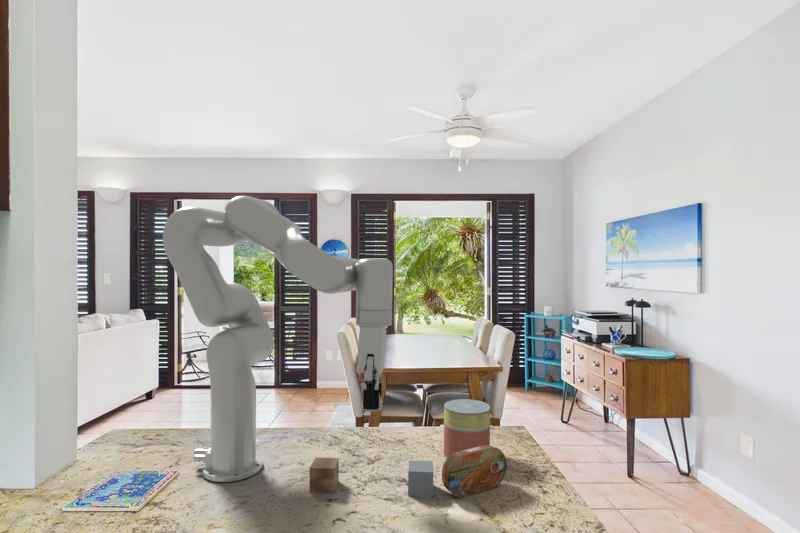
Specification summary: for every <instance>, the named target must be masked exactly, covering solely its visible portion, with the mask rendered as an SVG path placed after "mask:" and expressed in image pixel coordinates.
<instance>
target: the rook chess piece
mask: <svg viewBox="0 0 800 533" xmlns="http://www.w3.org/2000/svg"><path fill="white" fill-rule="evenodd" d="M373 374H376V371H373ZM380 376H381V377H382V373H381V374H380V375H378V389H379V383H381V382H379V377H380ZM373 379H374V380H375V377H373ZM383 400H384V399H382V397H381V396H380V394H379V409H377V410H373V409H363V401H362V405H361V408H362V409H363V410H364V411H365V412H372V413H375V412H379V411H382V409H383V408H384V405H383V403H384V401H383Z"/></svg>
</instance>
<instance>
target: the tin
mask: <svg viewBox="0 0 800 533" xmlns="http://www.w3.org/2000/svg"><path fill="white" fill-rule="evenodd" d="M445 459H446V458H445ZM507 467H508V466H507V458H506V456H505V454H504V452H503V451H502V450H501V449H500V448H497V447H495V446H492V445H490V446H489V445H483V446H479V447H475V448H471V449H467V450H463V451H458V452H455V453H453V454H451V455H450V456H449V457H448V458H447V459H446V460H445V461H444V463H443V466H442V467H441V468H442V469H441V470H442V471H441V479H442V484H443V486H444V487H445V489H446V490H447V491H448V492H450V494H452V495H453V496H455V497H457V498H460V499H461V498H467V497H471V496H473V495H476V494H479V493H482V492H486V491H490V490H493V489H495V488H497V487H498V486H499V485H500V484H501V483H502V482H503V480H504V478H505V476H506V472H507Z"/></svg>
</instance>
